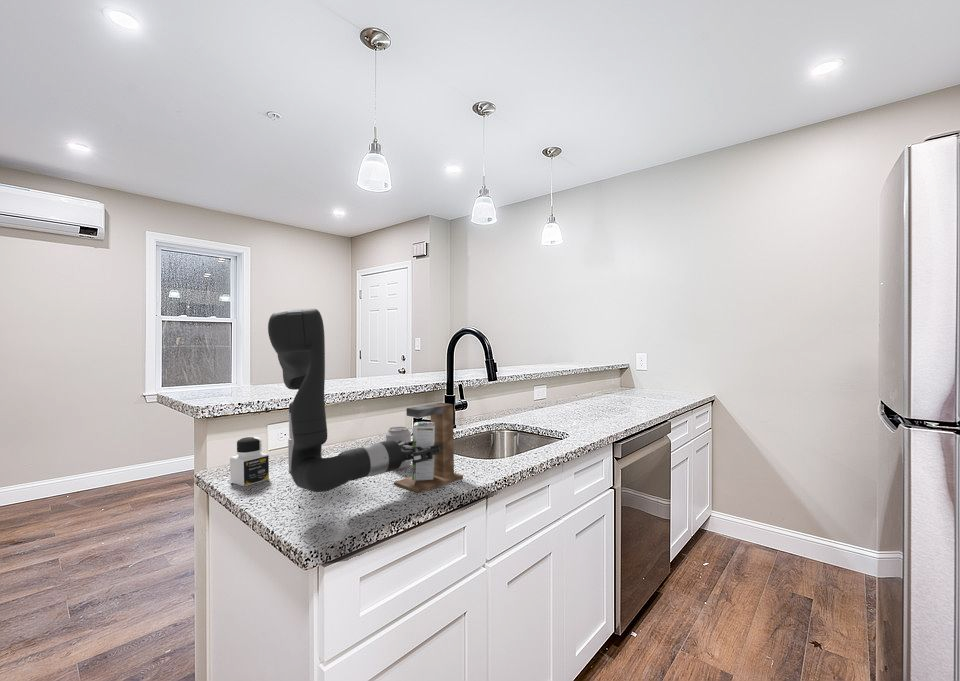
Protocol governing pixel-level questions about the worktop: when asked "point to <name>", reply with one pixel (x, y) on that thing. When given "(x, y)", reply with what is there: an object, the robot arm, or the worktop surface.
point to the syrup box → (423, 438)
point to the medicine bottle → (249, 463)
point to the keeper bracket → (443, 437)
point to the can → (399, 439)
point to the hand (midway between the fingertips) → (429, 446)
